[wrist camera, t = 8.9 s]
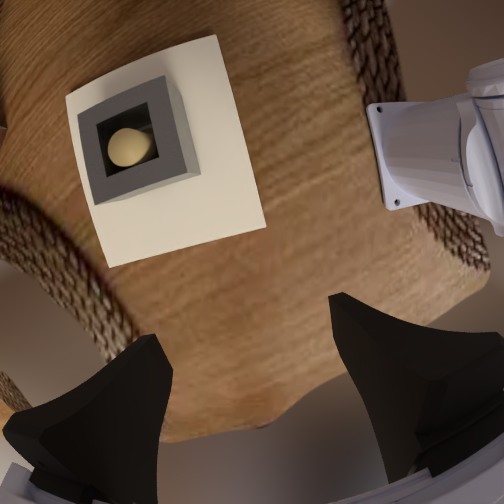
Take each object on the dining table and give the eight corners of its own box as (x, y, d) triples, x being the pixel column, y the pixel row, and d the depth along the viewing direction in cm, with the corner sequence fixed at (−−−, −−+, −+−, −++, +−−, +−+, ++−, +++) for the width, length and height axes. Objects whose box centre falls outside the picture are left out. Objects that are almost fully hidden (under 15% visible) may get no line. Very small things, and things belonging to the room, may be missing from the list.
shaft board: (217, 40, 15) (208, 2, 10) (265, 223, 19) (273, 246, 14) (72, 98, 16) (29, 87, 11) (114, 263, 20) (80, 293, 15)
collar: (181, 95, 16) (164, 74, 12) (201, 174, 17) (187, 172, 13) (107, 124, 16) (76, 114, 12) (124, 199, 17) (94, 205, 13)
